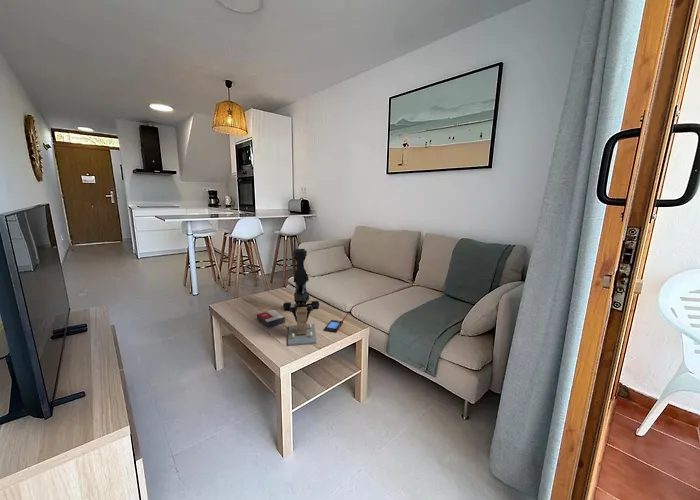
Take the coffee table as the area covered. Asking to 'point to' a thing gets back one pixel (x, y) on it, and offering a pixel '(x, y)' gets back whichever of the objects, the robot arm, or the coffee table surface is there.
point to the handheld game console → (334, 325)
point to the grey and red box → (271, 318)
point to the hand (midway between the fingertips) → (301, 321)
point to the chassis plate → (301, 336)
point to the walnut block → (301, 320)
